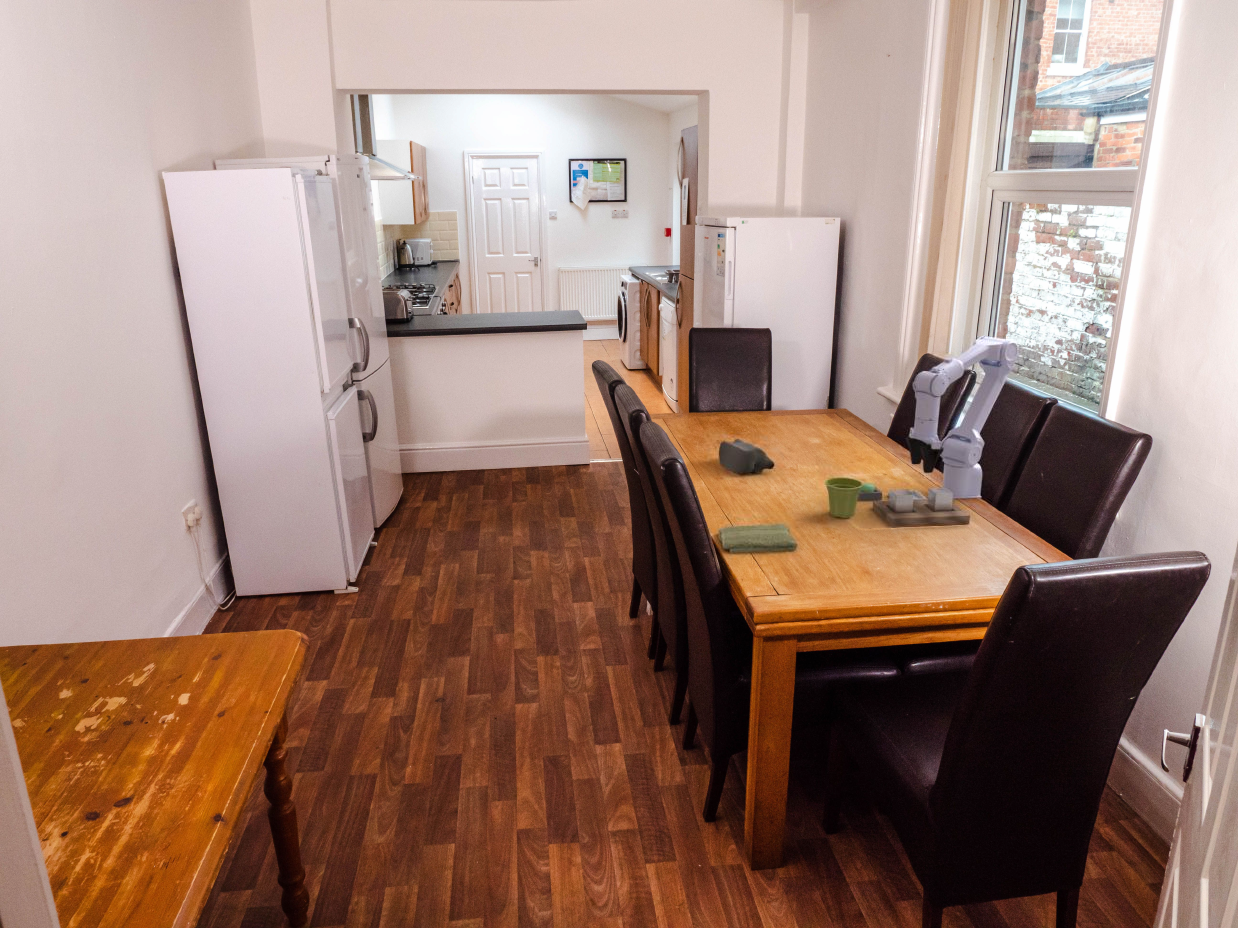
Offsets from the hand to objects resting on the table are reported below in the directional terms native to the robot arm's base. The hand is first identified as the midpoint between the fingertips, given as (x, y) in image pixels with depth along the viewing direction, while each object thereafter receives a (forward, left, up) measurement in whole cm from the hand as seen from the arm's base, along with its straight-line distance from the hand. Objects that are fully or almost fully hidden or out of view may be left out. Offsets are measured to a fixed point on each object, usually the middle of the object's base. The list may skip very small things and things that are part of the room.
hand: (921, 468), depth 230 cm
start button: (+12, -6, -9) cm, 16 cm away
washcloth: (+49, +23, -11) cm, 55 cm away
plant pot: (+23, +6, -10) cm, 26 cm away
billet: (+9, +10, -10) cm, 17 cm away
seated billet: (-1, +10, -10) cm, 14 cm away
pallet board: (+4, +10, -10) cm, 15 cm away
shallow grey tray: (+2, -3, -10) cm, 11 cm away
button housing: (+12, -6, -10) cm, 17 cm away
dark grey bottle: (+39, -38, -10) cm, 55 cm away
